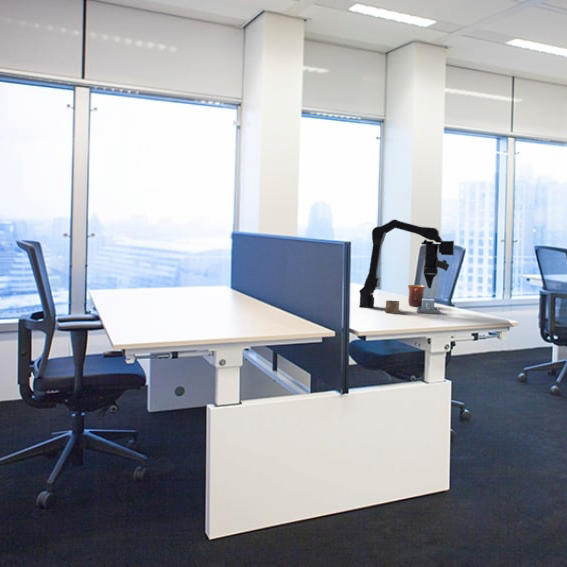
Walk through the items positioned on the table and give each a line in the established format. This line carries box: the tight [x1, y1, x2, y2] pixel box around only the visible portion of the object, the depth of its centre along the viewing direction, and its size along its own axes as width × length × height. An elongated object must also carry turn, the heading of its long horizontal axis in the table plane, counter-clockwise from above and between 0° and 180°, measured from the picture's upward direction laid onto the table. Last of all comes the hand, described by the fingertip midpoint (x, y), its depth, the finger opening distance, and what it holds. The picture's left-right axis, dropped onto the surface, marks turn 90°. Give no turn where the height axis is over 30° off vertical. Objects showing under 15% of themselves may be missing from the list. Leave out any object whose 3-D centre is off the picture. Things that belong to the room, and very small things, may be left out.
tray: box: [416, 306, 440, 315], centre depth 283 cm, size 10×10×2 cm
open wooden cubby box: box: [385, 299, 400, 314], centre depth 279 cm, size 6×6×5 cm
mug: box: [407, 284, 426, 308], centre depth 300 cm, size 12×9×10 cm
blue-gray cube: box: [421, 297, 436, 311], centre depth 283 cm, size 6×6×6 cm
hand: (429, 287), depth 282 cm, fingers open, 9 cm apart
